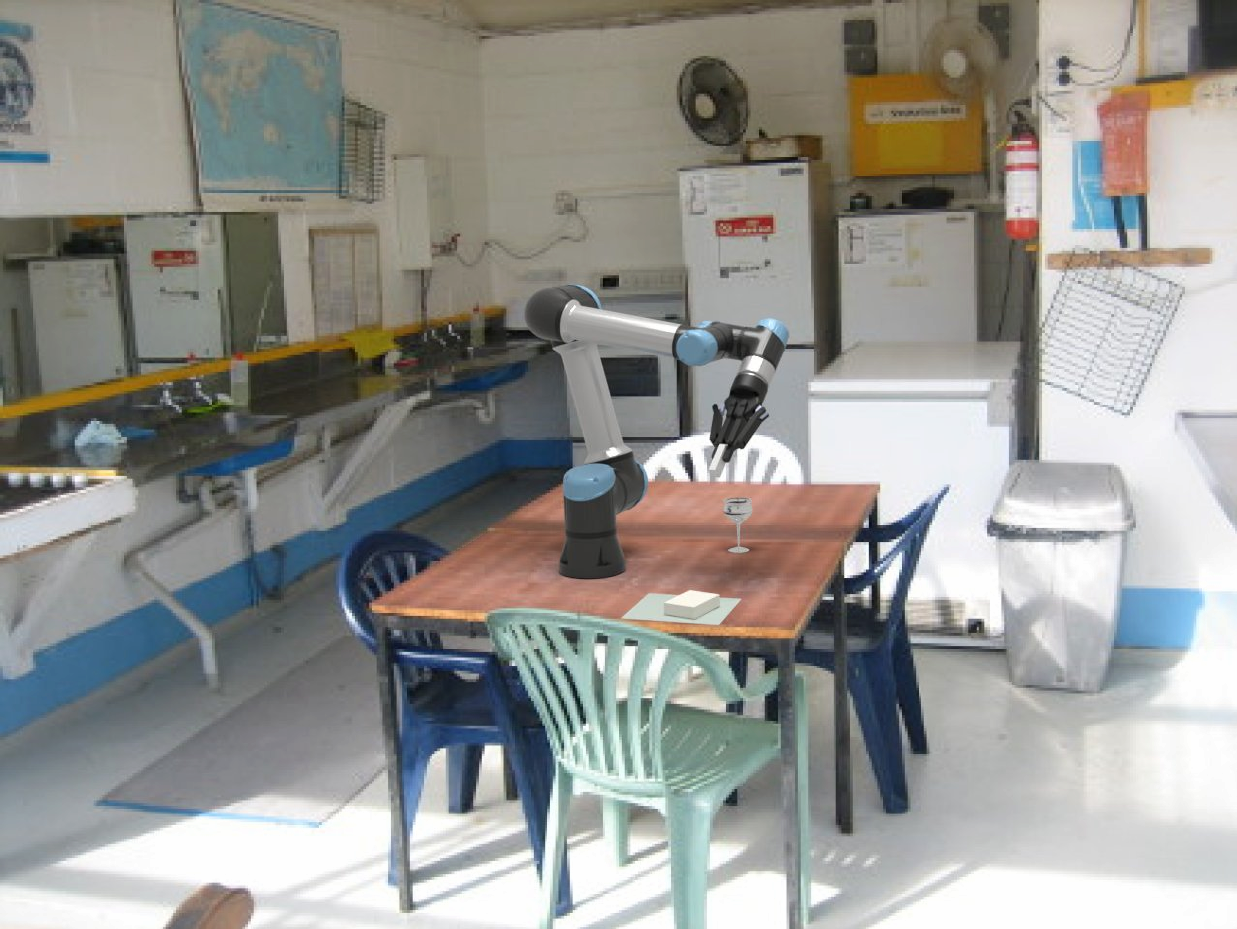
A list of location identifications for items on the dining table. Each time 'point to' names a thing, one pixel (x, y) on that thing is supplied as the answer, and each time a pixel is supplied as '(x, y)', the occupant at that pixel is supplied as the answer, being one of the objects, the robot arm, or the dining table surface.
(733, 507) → the wineglass
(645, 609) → the mat
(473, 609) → the dining table surface
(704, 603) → the box
